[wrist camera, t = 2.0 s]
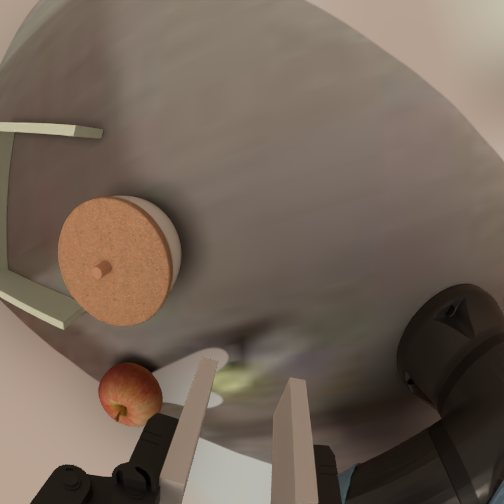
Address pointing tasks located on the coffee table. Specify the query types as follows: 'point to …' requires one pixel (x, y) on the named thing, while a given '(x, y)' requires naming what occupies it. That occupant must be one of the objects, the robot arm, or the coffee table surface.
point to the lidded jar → (119, 258)
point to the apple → (130, 394)
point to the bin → (3, 280)
